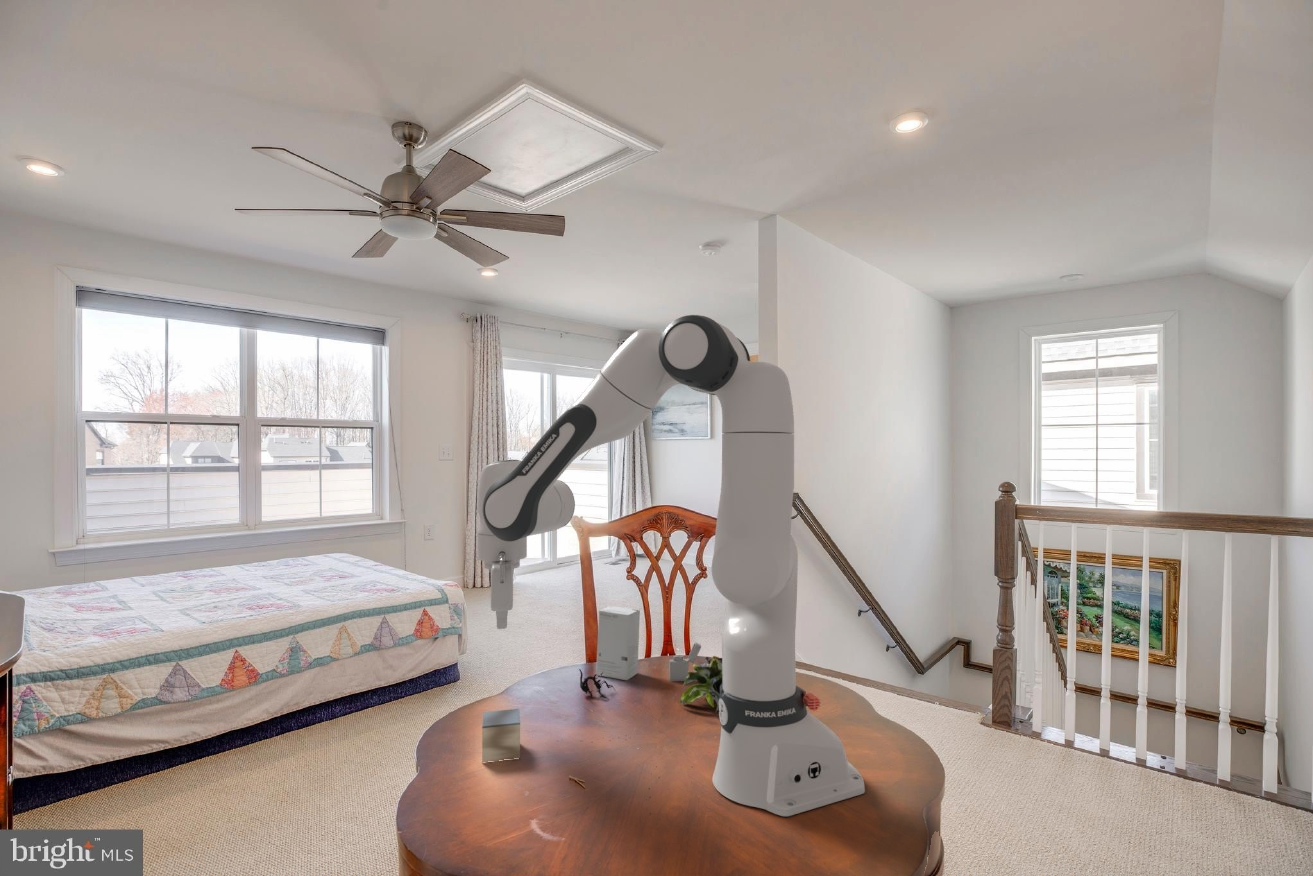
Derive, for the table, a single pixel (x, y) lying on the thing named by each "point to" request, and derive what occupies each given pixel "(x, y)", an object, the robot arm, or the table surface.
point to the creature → (585, 686)
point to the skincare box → (618, 642)
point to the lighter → (682, 664)
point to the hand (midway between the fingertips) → (501, 625)
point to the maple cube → (501, 735)
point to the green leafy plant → (704, 682)
